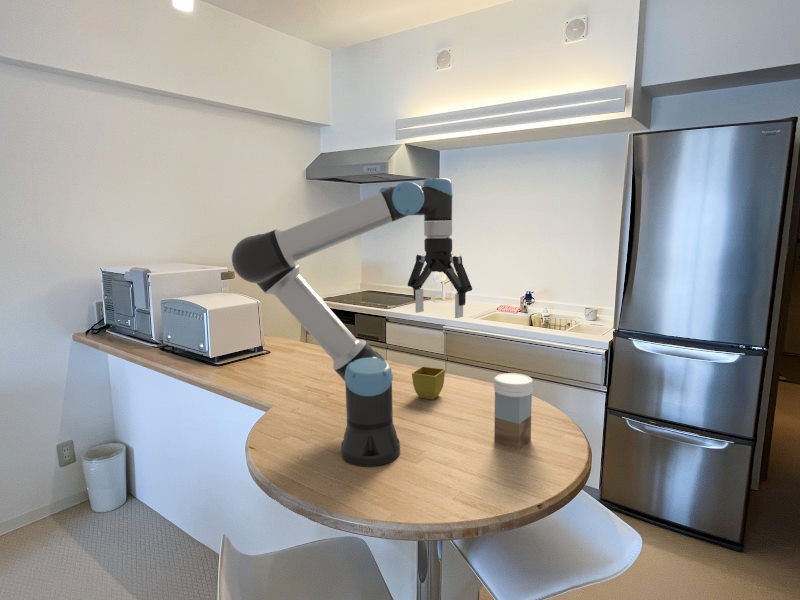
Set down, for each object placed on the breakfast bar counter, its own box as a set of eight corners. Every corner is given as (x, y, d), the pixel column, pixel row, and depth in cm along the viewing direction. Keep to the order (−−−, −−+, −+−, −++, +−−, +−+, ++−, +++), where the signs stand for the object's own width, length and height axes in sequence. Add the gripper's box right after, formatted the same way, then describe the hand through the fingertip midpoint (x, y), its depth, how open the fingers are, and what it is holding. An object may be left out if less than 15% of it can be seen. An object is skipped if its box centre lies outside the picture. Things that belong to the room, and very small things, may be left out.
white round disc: (504, 382, 134) (505, 370, 133) (539, 389, 127) (539, 377, 127) (486, 392, 126) (487, 379, 126) (522, 400, 120) (522, 387, 119)
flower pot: (411, 399, 161) (410, 372, 160) (422, 390, 169) (422, 365, 167) (435, 403, 157) (435, 376, 156) (445, 394, 165) (445, 369, 163)
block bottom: (518, 449, 124) (519, 424, 123) (494, 442, 129) (494, 417, 127) (530, 440, 129) (531, 415, 128) (507, 433, 134) (507, 409, 133)
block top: (519, 423, 123) (519, 397, 122) (494, 417, 127) (494, 391, 126) (531, 415, 128) (531, 390, 127) (507, 409, 133) (507, 384, 132)
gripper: (485, 237, 125) (484, 317, 129) (411, 236, 142) (412, 307, 145) (469, 238, 120) (469, 322, 123) (394, 237, 136) (396, 311, 139)
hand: (438, 314), depth 134 cm, fingers open, 13 cm apart
